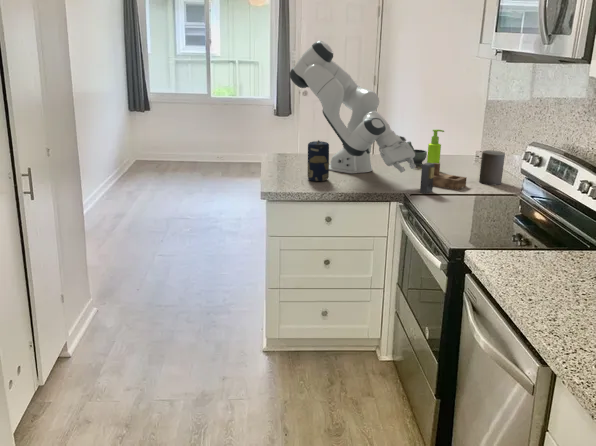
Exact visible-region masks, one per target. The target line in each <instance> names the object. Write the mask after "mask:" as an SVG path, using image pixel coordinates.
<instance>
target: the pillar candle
mask: <svg viewBox="0 0 596 446" xmlns="http://www.w3.org/2000/svg"><path fill="white" fill-rule="evenodd" d="M505 157H506V153H505V152H504V151H500V150H495V149H493V150H492V149H491V150H482V153H481V161H480V168H479V169H480V171H479V178H478V179H479V181H478V182H479V184H483V185H488V186H489V185H490V186H499V185H501V184H502V182H503V181H502V180H503V179H502V178H503V175H504V174H503V172H504V163H505Z"/></svg>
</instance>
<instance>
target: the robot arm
mask: <svg viewBox="0 0 596 446" xmlns="http://www.w3.org/2000/svg"><path fill="white" fill-rule="evenodd" d="M333 58H334V51H333V49H332V48H331V46H330V45H329V44H328V43H326V42H324V41H322V40H317V41H315V42H314V43H312V45H311V47H309V48H308V49H307V50H306V51H305V52H304V53H303V54H302V55H301V57H300V58H299V59H298V61H297V62H296V63H295V65H294V66H293V67H292V68H291V69H290V71H289V78H290V80H291V81H292V83H293V85H294V86H296V87H299V88H301V89H306V88H309V89H310V91H311V92H312V93H313V94H314V95H315V96H316V97H317V99H318V100H319V102H320V104H321V106H322V115H323V116H324V118H325V119H326V121H327V123H328V125H330V127H331V129H332V130H333V131H334V133H335V135H337V137H338V139H339V140H340V141H341V143H342V144H341V145H342V146H343V147H342V148H341V149H340V150H338V151H337V152H336V153H334V154H333V155H332V157H331V160H330V162H329V171H332V172H340V173H345V174H359V173H360V174H362V173H368V172H371V171H373V166H372V161H371V152H372V145H373V144H374V143H375V142H376V144H377V146H378V151H379V155H380V157H381V158H382V161H383V162H384V164H385V165H386V166H388V167H394V168H395V169H397V170H398V171H399V172H400V173H403V172H405V171H406V169H405V168H404V167H405V166H402V165H401V164H402V163H405V162H406V163H408V164H409V167H410V169H411V170H414V169H416V167H417V166H416V165H415V164H414V161H413V159H412V158H414V157H415V153H414V151H413V149H412V148H411V147H410V145H409V144H408V143H407V142H408V141H407V139H406V137H405V136H401V135H398V134H397V133H396V132H395V131H394V130H392V129H391V127H390V123H388V122H387V120H385V117H383V116H382V114H380V112H378V111H377V110H378V107H379V105H380V97H379V95H378V94H377V93H376V92H375V91H373V90H372V89H369V88H365V87H361V86H360V85H358V83H356V81H354V79H353V78H352V76H351V75H350V74H349V73H348V72H347V71H346V70H344V69H343V68H342V67H341V66H340V65H339V64H337V63H336V62H334V61H333ZM342 104H343V105H344V106H345V107H346V108H348V110H350V111H351V110H352V112H351V117H350V119H349V121H348V123H347V126H346V124H345V123H344V121H343V120H342V118H341V116H340V110H341V107H342Z"/></svg>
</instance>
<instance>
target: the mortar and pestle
mask: <svg viewBox="0 0 596 446" xmlns="http://www.w3.org/2000/svg"><path fill="white" fill-rule="evenodd" d="M406 142H407V143H408V144H409V145H410V147H411V148H412V149H413V151H414V153H415V157H414V158H412V159H413V161H414V164H415V165H416V167H422V164H423V162H424V161H425V160H426V158H427V156H428V150H424V149H415V148H414V146H413V145H412V142H411V141H406Z"/></svg>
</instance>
